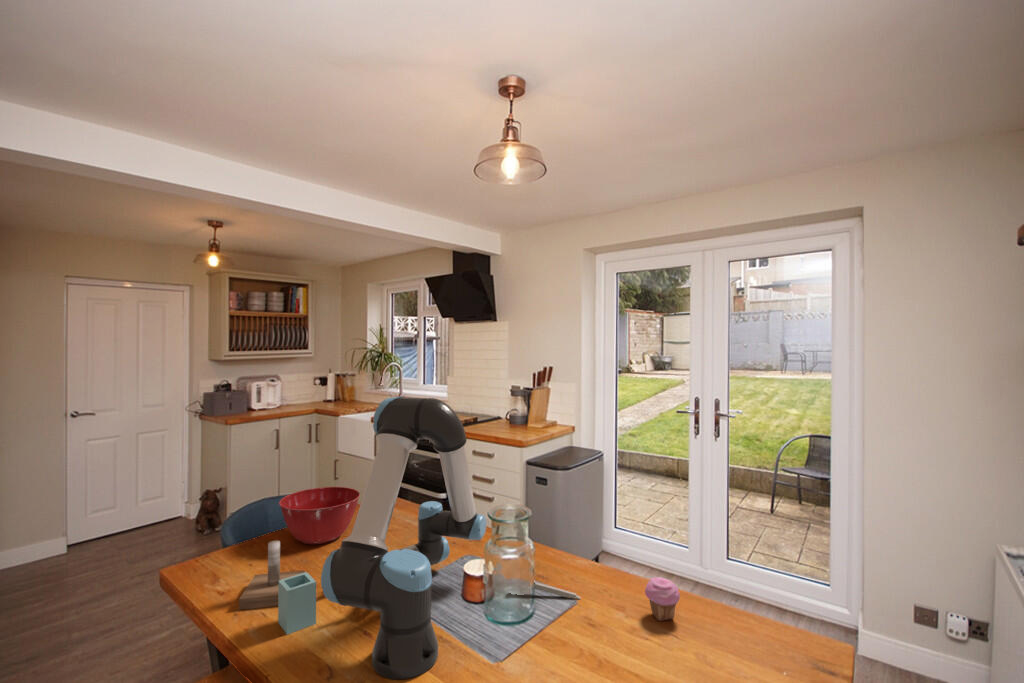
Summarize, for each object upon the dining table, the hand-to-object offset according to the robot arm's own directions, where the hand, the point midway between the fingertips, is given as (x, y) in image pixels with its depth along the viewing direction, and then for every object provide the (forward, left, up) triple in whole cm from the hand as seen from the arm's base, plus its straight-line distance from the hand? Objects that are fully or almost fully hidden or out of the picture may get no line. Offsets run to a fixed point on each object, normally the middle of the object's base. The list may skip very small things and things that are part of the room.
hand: (334, 585), depth 132 cm
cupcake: (-22, -87, -7) cm, 90 cm away
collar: (-5, +9, -7) cm, 12 cm away
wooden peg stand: (+12, +19, -7) cm, 23 cm away
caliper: (-5, -60, -7) cm, 60 cm away
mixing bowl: (+53, +13, -7) cm, 55 cm away
